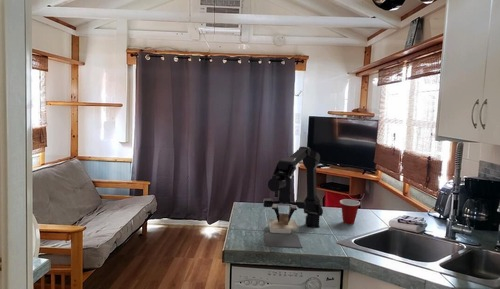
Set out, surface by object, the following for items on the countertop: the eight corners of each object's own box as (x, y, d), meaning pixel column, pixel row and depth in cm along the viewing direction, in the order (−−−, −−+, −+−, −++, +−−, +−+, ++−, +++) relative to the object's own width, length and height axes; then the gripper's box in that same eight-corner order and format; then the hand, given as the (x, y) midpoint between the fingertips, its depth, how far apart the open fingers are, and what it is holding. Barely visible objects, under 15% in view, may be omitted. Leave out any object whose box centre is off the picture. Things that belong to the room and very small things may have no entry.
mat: (297, 235, 175) (297, 234, 175) (302, 248, 159) (302, 247, 159) (264, 234, 175) (264, 233, 175) (265, 246, 159) (265, 245, 159)
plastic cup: (336, 223, 198) (338, 202, 197) (339, 219, 208) (341, 198, 207) (357, 227, 194) (359, 204, 193) (359, 221, 204) (361, 200, 203)
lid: (294, 221, 173) (295, 211, 172) (297, 229, 161) (298, 219, 160) (269, 220, 173) (269, 210, 172) (270, 228, 161) (271, 217, 160)
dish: (288, 227, 188) (288, 221, 188) (290, 233, 178) (291, 227, 178) (269, 226, 188) (269, 220, 188) (270, 232, 178) (270, 226, 178)
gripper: (303, 185, 173) (301, 218, 175) (263, 183, 173) (262, 216, 175) (306, 190, 162) (304, 225, 164) (264, 188, 162) (262, 223, 164)
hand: (283, 222), depth 167 cm, fingers closed on lid, 4 cm apart
